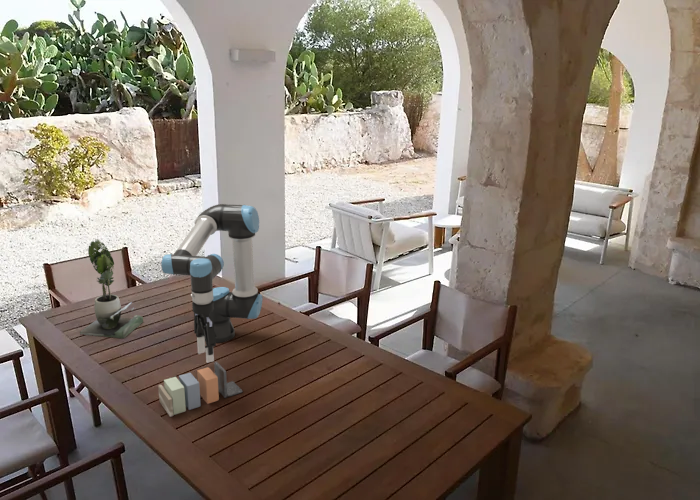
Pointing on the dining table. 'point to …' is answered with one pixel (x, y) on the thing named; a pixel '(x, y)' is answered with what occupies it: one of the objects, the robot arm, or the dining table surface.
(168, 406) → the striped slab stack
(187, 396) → the book slate
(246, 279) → the robot arm
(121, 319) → the potted plant
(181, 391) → the book sage
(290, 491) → the dining table surface
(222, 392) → the bookend
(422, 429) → the dining table surface
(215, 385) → the book rust
